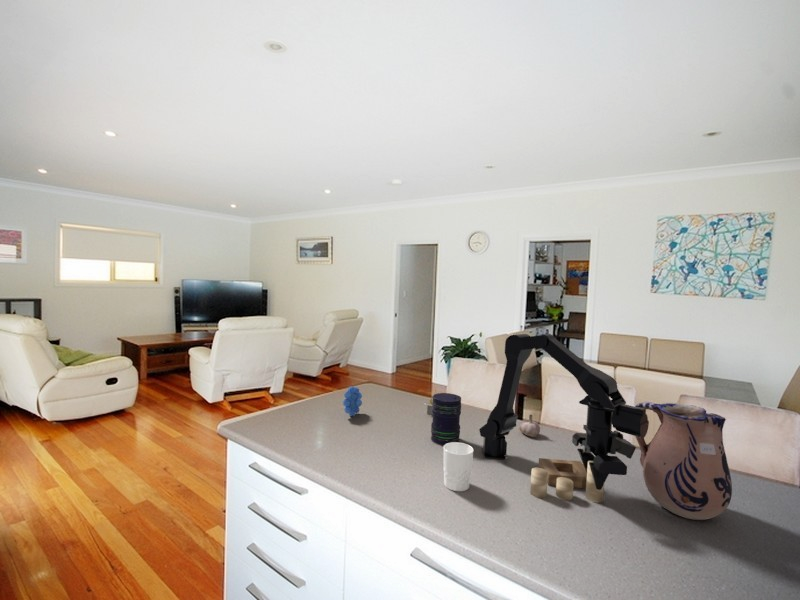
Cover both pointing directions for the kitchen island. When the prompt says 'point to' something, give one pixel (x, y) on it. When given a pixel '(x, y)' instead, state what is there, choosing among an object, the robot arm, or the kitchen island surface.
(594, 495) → the long dowel
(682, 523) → the kitchen island surface
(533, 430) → the garlic bulb
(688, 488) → the ceramic pitcher
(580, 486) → the collar block
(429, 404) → the platform
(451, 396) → the storage jar
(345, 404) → the grapes
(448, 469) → the white cup
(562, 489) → the stub dowel
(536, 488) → the medium dowel
